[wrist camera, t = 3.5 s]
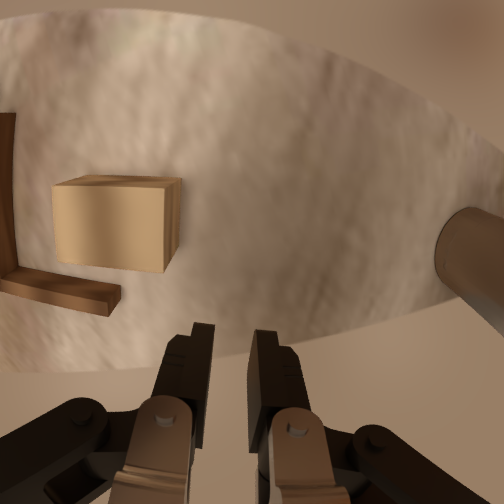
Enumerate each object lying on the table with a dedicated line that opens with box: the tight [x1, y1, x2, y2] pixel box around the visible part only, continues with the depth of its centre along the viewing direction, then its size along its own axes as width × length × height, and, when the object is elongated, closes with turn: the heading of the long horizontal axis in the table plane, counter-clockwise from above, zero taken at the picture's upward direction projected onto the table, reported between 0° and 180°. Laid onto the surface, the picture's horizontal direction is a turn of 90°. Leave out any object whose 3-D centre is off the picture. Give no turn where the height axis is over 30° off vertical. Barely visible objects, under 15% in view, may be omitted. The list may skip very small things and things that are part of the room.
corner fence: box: [0, 113, 121, 317], centre depth 24 cm, size 15×18×4 cm
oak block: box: [52, 175, 181, 273], centre depth 23 cm, size 9×6×6 cm, turn 84°
